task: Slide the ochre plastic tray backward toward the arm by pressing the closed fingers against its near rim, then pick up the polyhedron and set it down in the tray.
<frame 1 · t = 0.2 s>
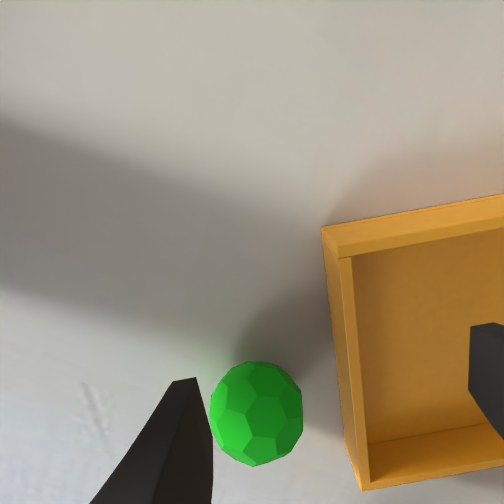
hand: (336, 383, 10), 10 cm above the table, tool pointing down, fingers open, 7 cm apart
tray: (472, 326, 21), on the table
polyhedron: (254, 378, 22), on the table
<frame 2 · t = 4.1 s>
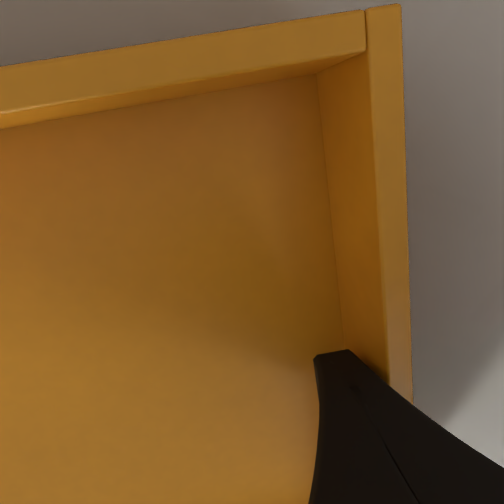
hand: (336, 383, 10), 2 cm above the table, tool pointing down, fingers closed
tray: (103, 408, 10), point 1 cm above the table, tilted 7°, touching gripper
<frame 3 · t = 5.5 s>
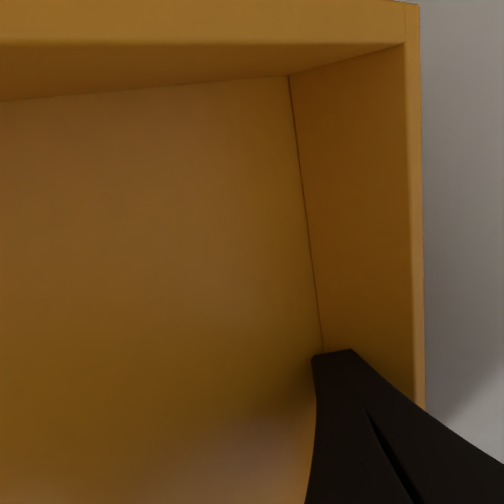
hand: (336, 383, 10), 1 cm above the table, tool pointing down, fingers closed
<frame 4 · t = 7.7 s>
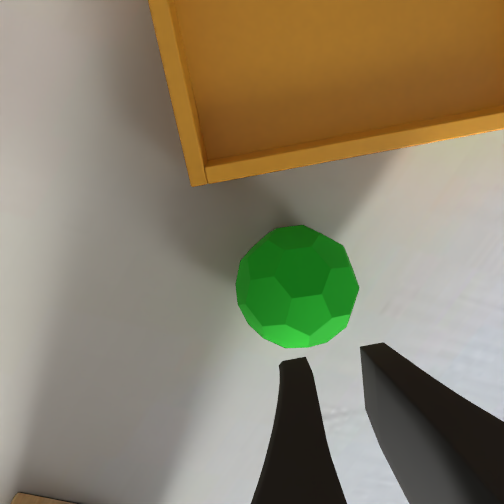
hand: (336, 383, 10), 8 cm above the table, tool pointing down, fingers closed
polyhedron: (287, 263, 18), on the table
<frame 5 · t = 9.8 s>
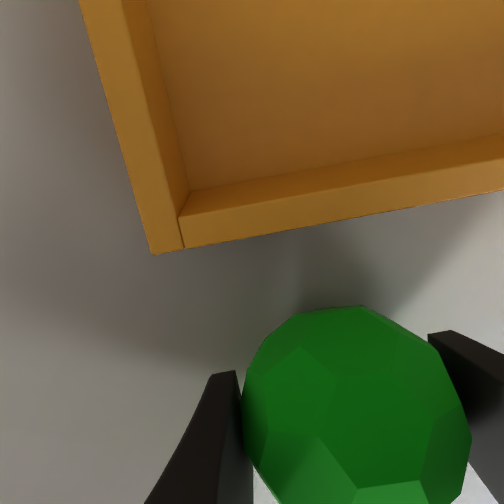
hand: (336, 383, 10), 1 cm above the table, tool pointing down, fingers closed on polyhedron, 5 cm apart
polyhedron: (320, 347, 11), on the table, touching gripper
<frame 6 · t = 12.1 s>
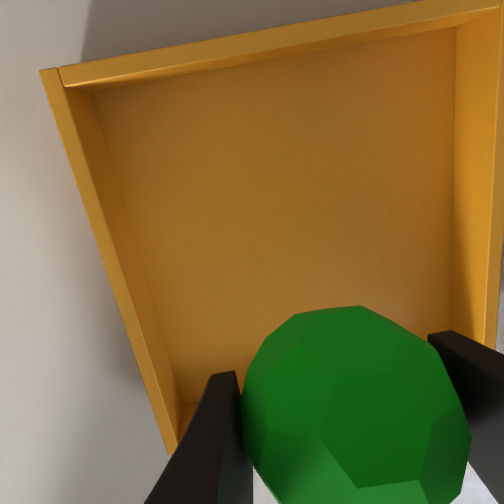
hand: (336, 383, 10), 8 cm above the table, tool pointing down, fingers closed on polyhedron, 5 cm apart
tray: (296, 241, 17), on the table
polyhedron: (320, 347, 11), point 7 cm above the table, touching gripper
when the fingers open (2 cm above the table, at t = 14.3 s): polyhedron stays where it is, resting on tray.
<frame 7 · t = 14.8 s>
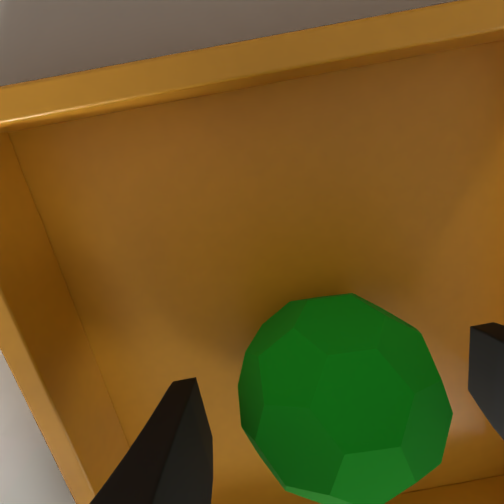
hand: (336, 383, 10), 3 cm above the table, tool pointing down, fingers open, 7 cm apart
tray: (319, 330, 12), on the table, touching polyhedron
polyhedron: (314, 335, 12), resting on tray
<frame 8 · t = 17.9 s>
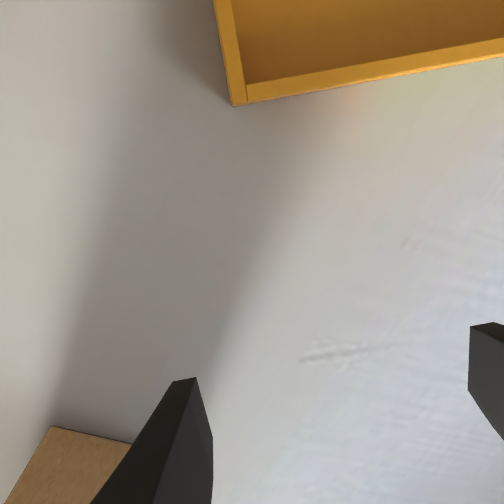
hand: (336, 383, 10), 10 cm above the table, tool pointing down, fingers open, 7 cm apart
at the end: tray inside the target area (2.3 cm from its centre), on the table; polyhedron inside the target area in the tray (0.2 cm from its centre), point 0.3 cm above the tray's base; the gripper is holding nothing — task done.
